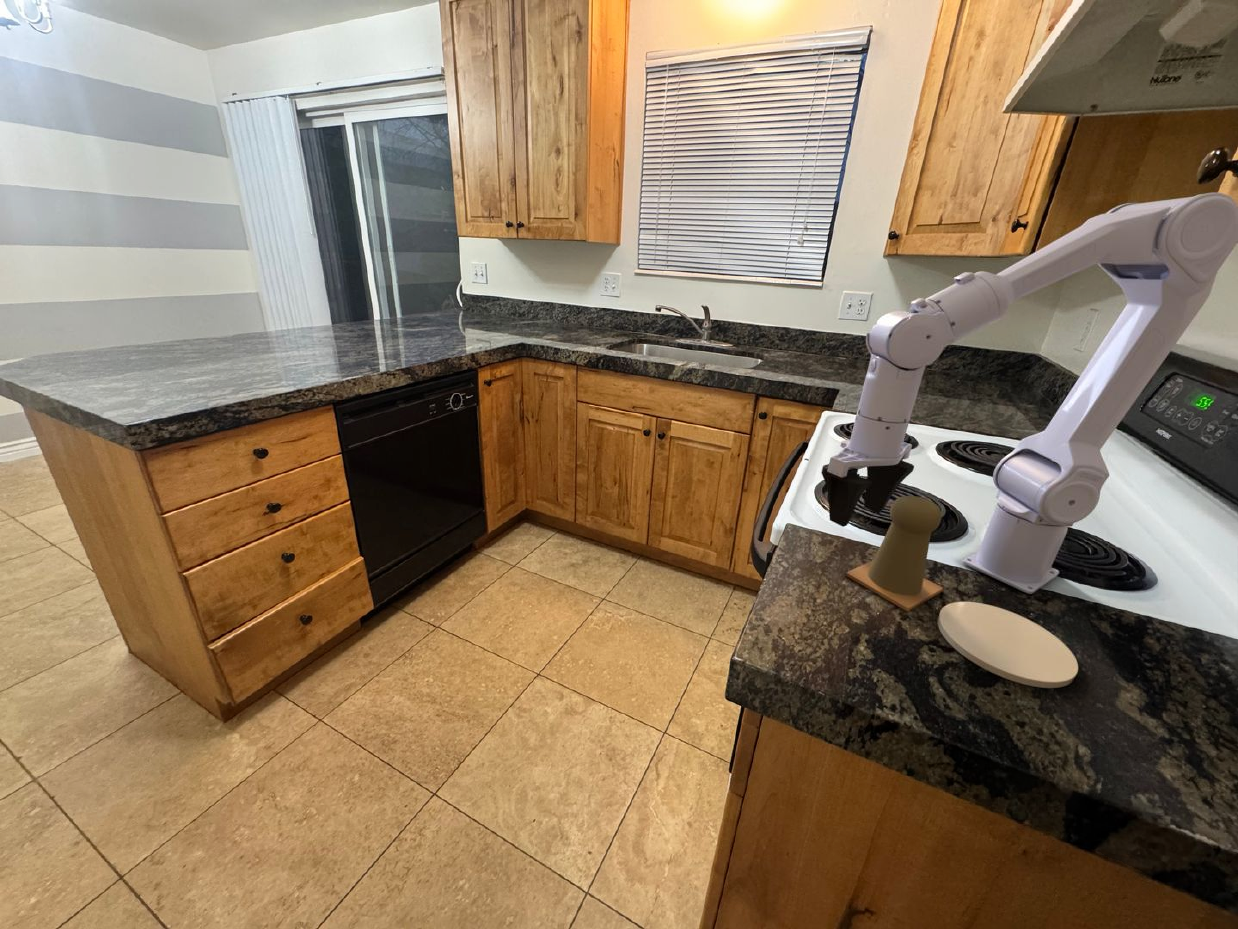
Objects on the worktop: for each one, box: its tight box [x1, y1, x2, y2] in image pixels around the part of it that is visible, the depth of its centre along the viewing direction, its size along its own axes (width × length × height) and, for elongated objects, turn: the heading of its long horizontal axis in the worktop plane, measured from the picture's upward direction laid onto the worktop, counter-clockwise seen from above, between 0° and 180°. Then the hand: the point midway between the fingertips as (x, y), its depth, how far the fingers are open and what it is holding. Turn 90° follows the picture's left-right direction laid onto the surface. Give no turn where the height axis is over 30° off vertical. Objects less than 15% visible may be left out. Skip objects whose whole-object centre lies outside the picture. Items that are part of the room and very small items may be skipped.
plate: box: [937, 601, 1079, 689], centre depth 52 cm, size 12×12×1 cm
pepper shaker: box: [868, 495, 943, 595], centre depth 60 cm, size 6×6×11 cm
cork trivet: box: [845, 560, 944, 612], centre depth 62 cm, size 8×8×1 cm
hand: (855, 516), depth 65 cm, fingers open, 7 cm apart
